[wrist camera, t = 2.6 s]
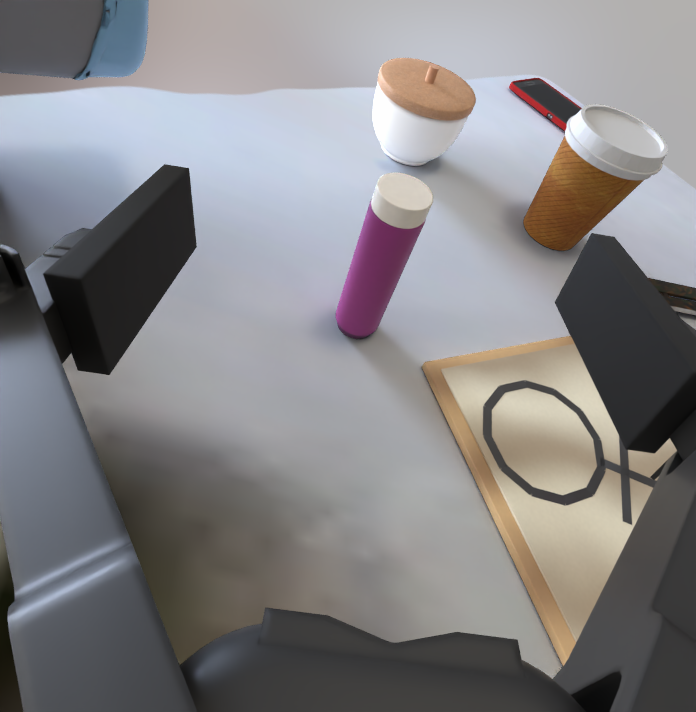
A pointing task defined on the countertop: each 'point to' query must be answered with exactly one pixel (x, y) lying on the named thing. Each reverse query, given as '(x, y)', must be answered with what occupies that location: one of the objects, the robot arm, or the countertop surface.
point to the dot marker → (382, 251)
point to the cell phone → (546, 100)
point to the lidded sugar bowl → (419, 109)
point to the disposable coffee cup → (592, 174)
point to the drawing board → (547, 470)
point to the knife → (677, 291)
